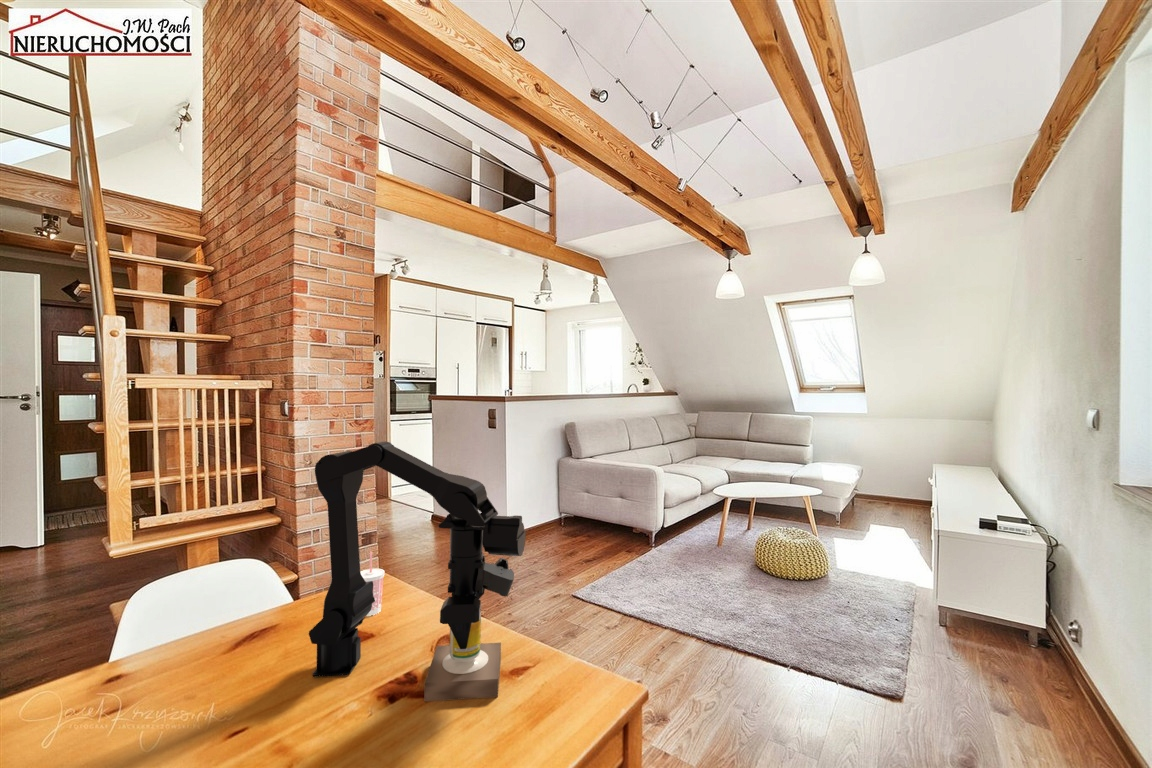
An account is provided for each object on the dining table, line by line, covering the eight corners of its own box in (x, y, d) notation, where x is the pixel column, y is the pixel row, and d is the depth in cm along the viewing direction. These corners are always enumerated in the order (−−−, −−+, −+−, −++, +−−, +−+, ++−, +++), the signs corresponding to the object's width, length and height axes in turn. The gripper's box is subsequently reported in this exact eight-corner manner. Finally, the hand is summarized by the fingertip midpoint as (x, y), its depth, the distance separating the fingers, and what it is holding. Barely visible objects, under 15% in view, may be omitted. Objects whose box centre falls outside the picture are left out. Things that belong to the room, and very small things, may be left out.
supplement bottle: (444, 653, 87) (445, 599, 88) (471, 644, 91) (472, 591, 91) (458, 666, 83) (458, 609, 84) (485, 655, 87) (486, 601, 87)
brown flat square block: (424, 701, 80) (424, 682, 80) (436, 661, 92) (437, 644, 92) (497, 696, 82) (497, 677, 82) (500, 658, 94) (501, 641, 94)
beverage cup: (370, 604, 117) (371, 545, 117) (390, 609, 115) (390, 549, 115) (349, 615, 112) (350, 553, 112) (369, 620, 109) (370, 557, 109)
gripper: (510, 570, 79) (509, 667, 79) (512, 536, 98) (511, 614, 97) (440, 572, 78) (438, 670, 78) (455, 537, 96) (454, 617, 96)
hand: (465, 640), depth 87 cm, fingers closed on supplement bottle, 5 cm apart
